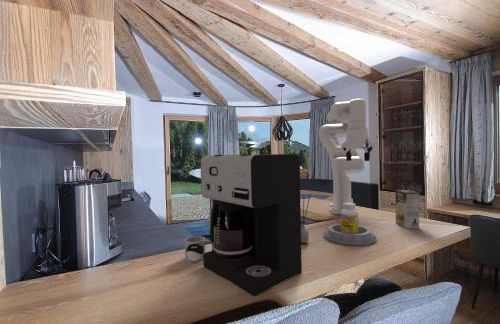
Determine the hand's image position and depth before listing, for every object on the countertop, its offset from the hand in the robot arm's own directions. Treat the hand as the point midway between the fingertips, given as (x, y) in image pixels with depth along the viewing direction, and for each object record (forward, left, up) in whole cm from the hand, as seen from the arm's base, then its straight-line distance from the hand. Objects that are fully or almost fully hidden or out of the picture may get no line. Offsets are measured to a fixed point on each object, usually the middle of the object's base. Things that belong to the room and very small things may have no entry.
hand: (357, 160), depth 129 cm
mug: (-7, -80, -31) cm, 86 cm away
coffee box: (+17, +12, -30) cm, 37 cm away
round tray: (+11, -23, -30) cm, 40 cm away
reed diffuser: (+3, -43, -30) cm, 53 cm away
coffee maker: (+9, -72, -30) cm, 79 cm away
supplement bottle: (+11, -23, -29) cm, 39 cm away
